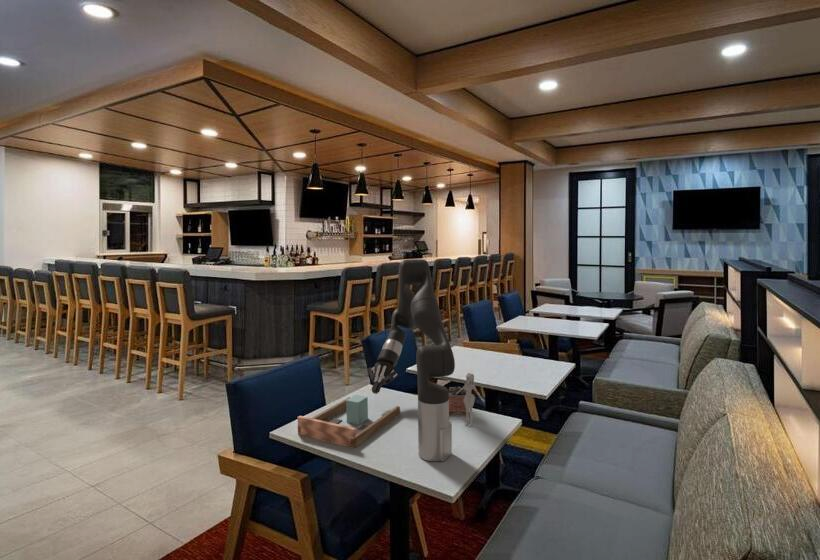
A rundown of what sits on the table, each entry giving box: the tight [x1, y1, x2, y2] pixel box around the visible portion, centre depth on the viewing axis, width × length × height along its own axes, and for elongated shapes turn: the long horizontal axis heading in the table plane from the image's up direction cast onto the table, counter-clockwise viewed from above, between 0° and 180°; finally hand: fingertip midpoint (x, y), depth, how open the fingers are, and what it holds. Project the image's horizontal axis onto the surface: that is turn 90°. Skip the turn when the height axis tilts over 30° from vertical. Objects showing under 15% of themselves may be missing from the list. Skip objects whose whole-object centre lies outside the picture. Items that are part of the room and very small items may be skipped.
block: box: [345, 394, 369, 426], centre depth 164 cm, size 5×6×8 cm
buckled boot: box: [448, 386, 466, 417], centre depth 169 cm, size 8×3×10 cm, turn 84°
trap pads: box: [326, 417, 369, 434], centre depth 159 cm, size 18×8×1 cm, turn 62°
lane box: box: [297, 396, 401, 449], centre depth 161 cm, size 22×29×6 cm
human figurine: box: [455, 372, 486, 428], centre depth 159 cm, size 12×4×18 cm, turn 47°
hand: (374, 392), depth 174 cm, fingers closed
